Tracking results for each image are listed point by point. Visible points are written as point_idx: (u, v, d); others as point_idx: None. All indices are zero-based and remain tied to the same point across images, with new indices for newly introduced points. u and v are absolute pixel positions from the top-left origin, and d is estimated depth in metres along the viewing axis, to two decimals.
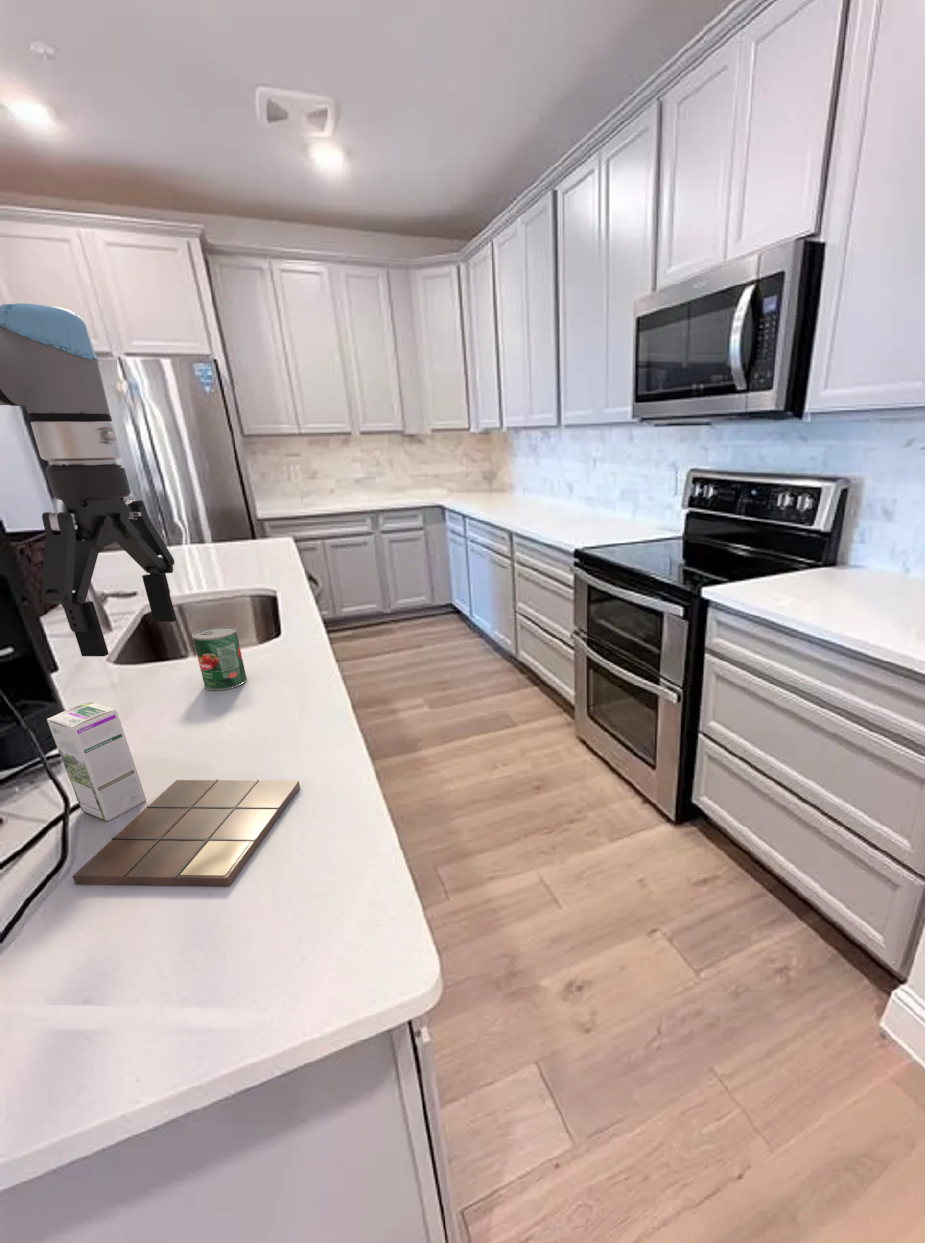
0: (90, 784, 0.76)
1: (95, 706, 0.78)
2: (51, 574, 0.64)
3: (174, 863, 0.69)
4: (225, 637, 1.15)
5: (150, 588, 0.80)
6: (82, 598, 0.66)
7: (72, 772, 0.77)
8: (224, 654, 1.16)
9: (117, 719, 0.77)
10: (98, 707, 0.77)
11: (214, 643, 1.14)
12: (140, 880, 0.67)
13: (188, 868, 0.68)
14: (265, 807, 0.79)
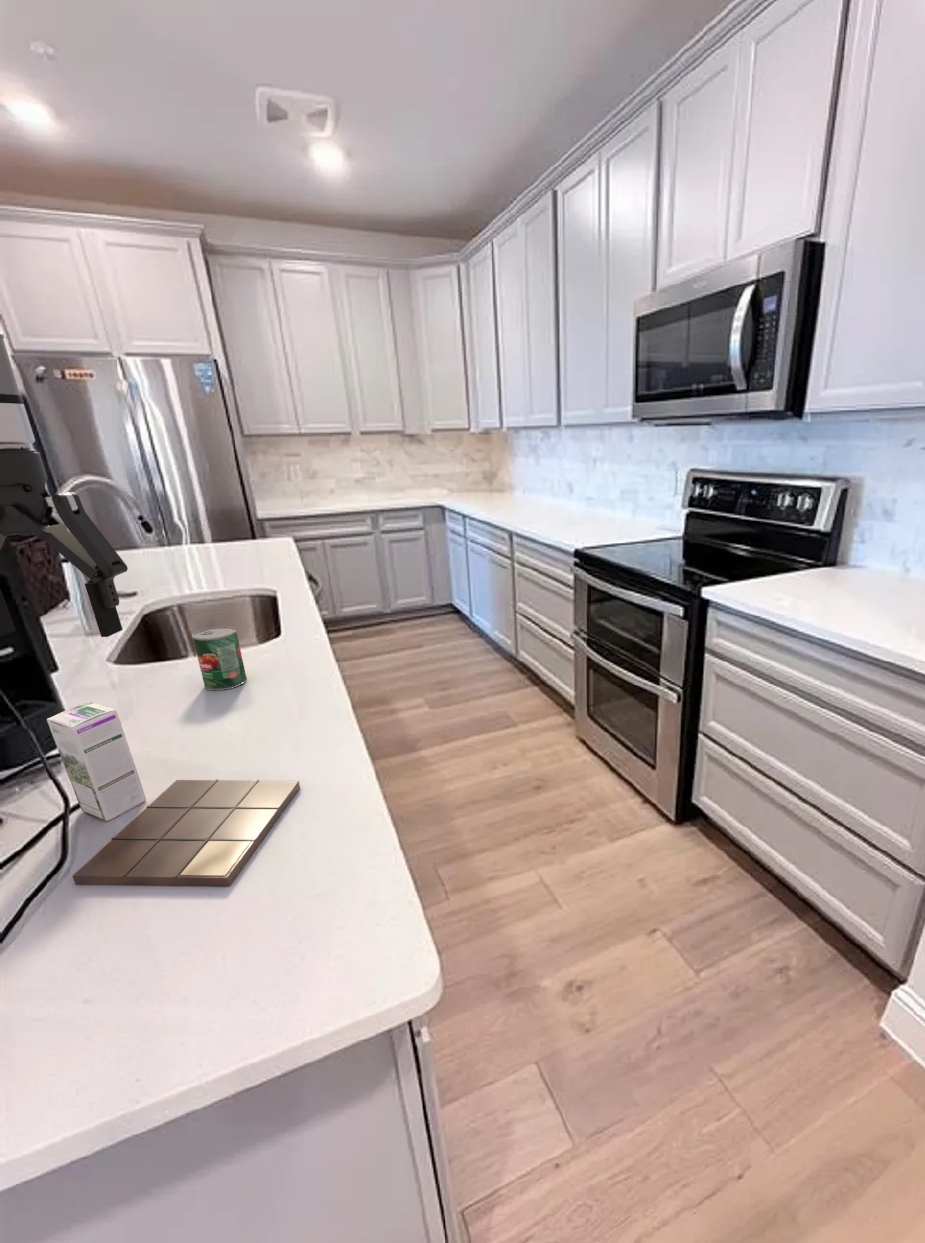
0: (90, 784, 0.76)
1: (95, 706, 0.78)
2: (103, 549, 0.67)
3: (174, 863, 0.69)
4: (225, 637, 1.15)
5: None
6: None
7: (72, 772, 0.77)
8: (224, 654, 1.16)
9: (117, 719, 0.77)
10: (98, 707, 0.77)
11: (213, 643, 1.14)
12: (140, 880, 0.67)
13: (188, 868, 0.68)
14: (265, 807, 0.79)
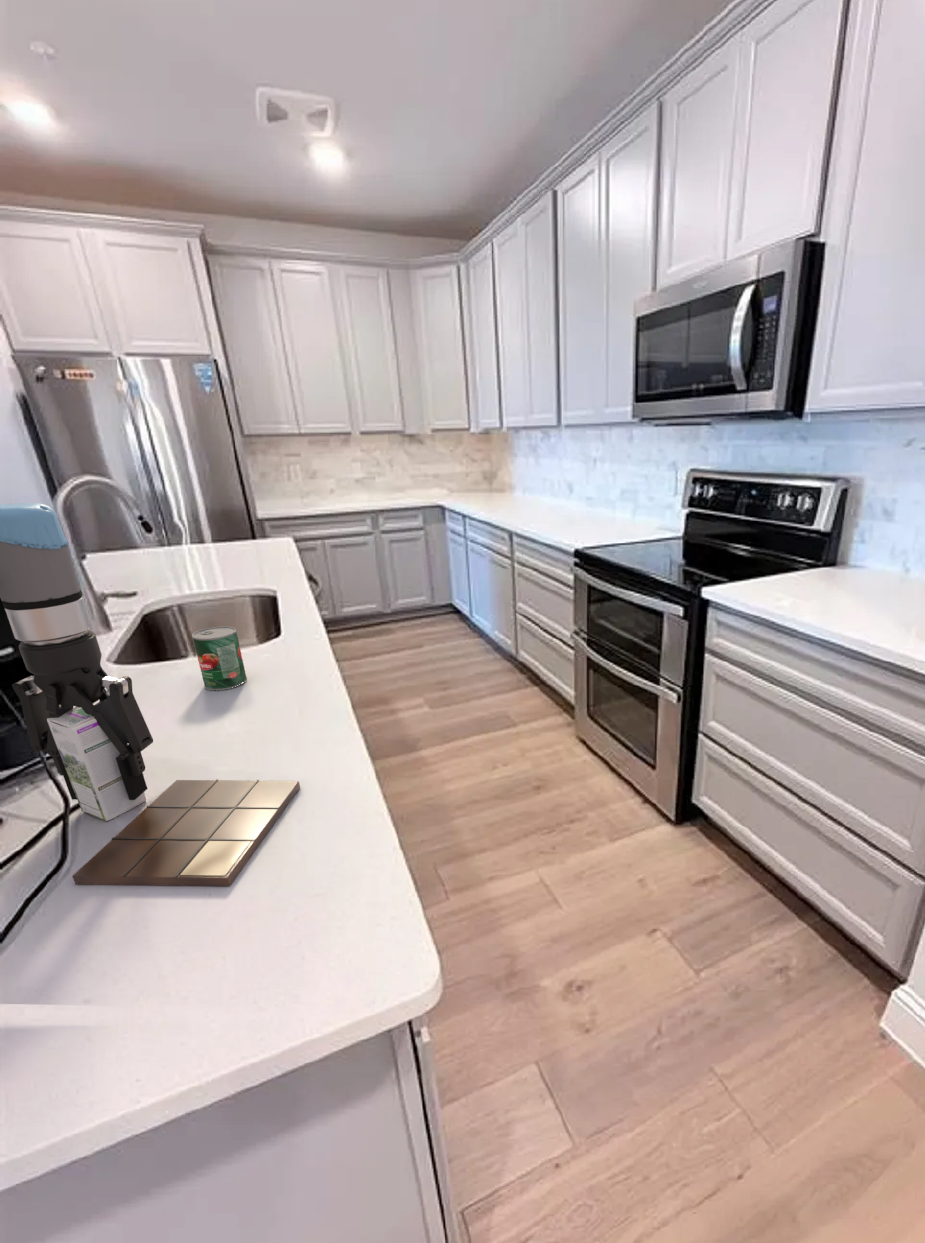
0: (90, 784, 0.76)
1: None
2: (139, 728, 0.76)
3: (174, 863, 0.69)
4: (225, 637, 1.15)
5: None
6: None
7: (72, 772, 0.77)
8: (224, 654, 1.16)
9: None
10: None
11: (213, 643, 1.14)
12: (140, 880, 0.67)
13: (188, 868, 0.68)
14: (265, 807, 0.79)
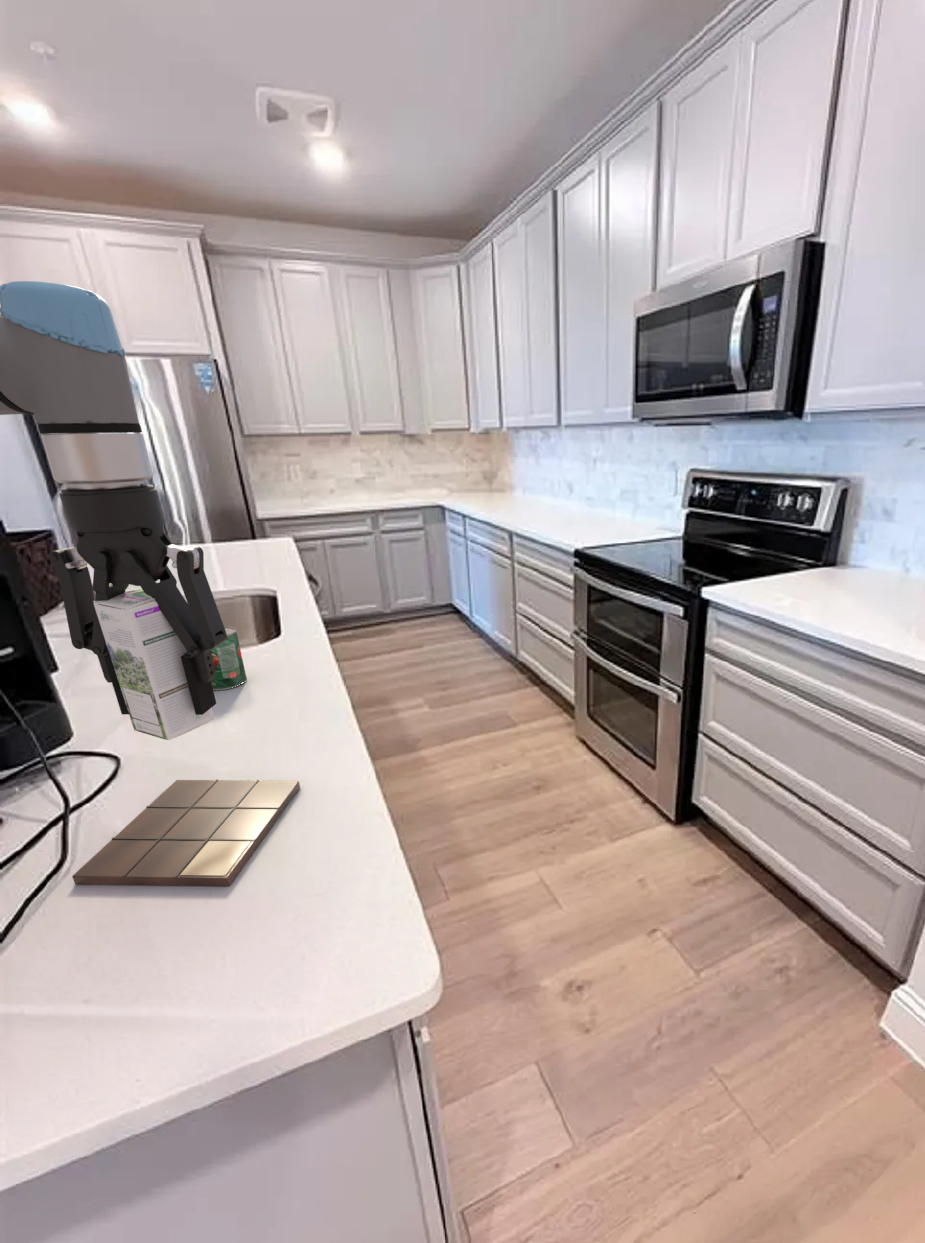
0: (149, 688, 0.58)
1: None
2: (211, 617, 0.59)
3: (174, 863, 0.69)
4: None
5: None
6: None
7: (124, 675, 0.59)
8: (224, 654, 1.16)
9: None
10: None
11: None
12: (140, 880, 0.67)
13: (188, 868, 0.68)
14: (265, 807, 0.79)
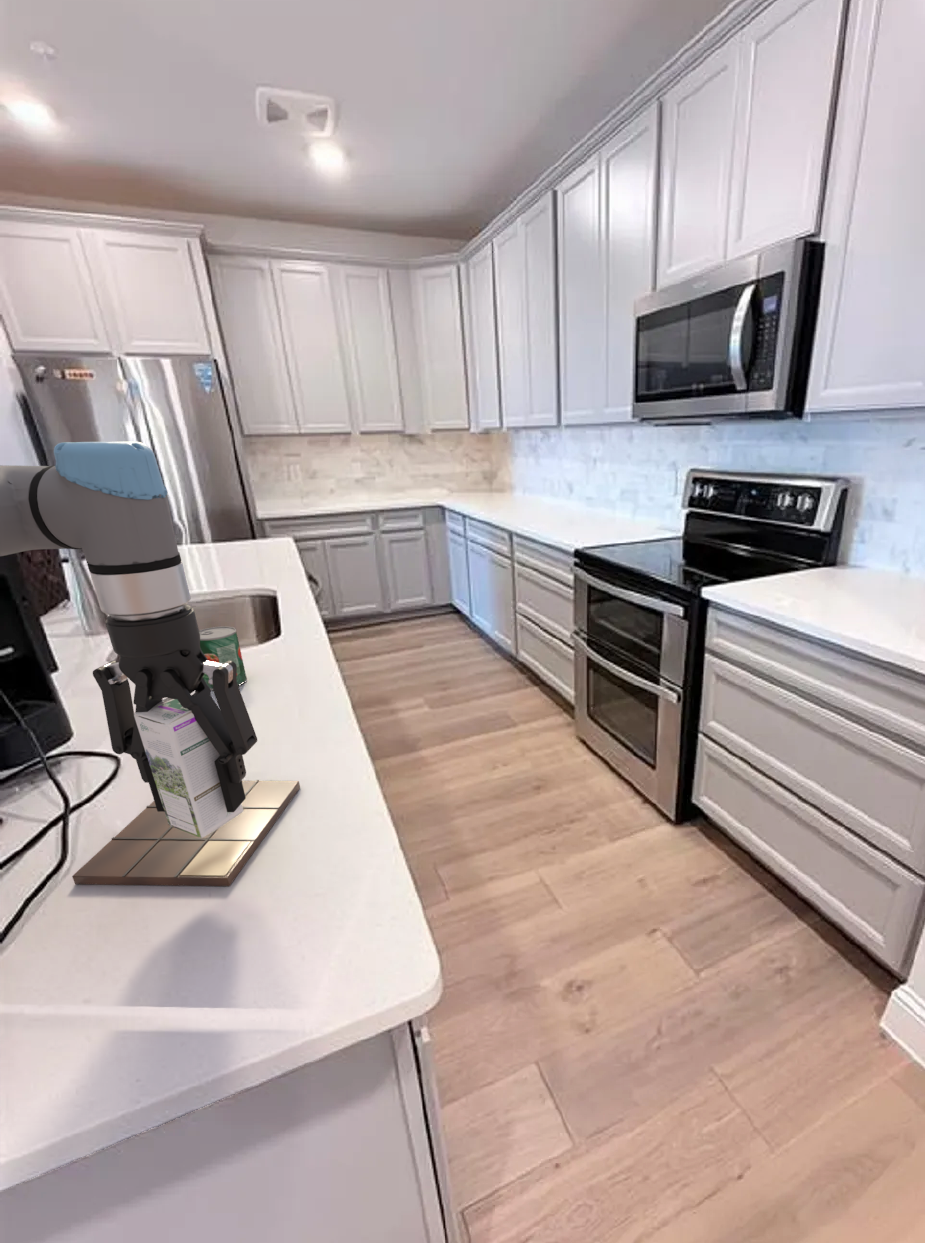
0: (185, 793, 0.62)
1: None
2: (243, 725, 0.62)
3: (174, 863, 0.69)
4: (225, 637, 1.15)
5: None
6: None
7: (162, 778, 0.63)
8: (224, 654, 1.16)
9: None
10: None
11: (213, 643, 1.14)
12: (140, 880, 0.67)
13: (188, 868, 0.68)
14: (265, 807, 0.79)
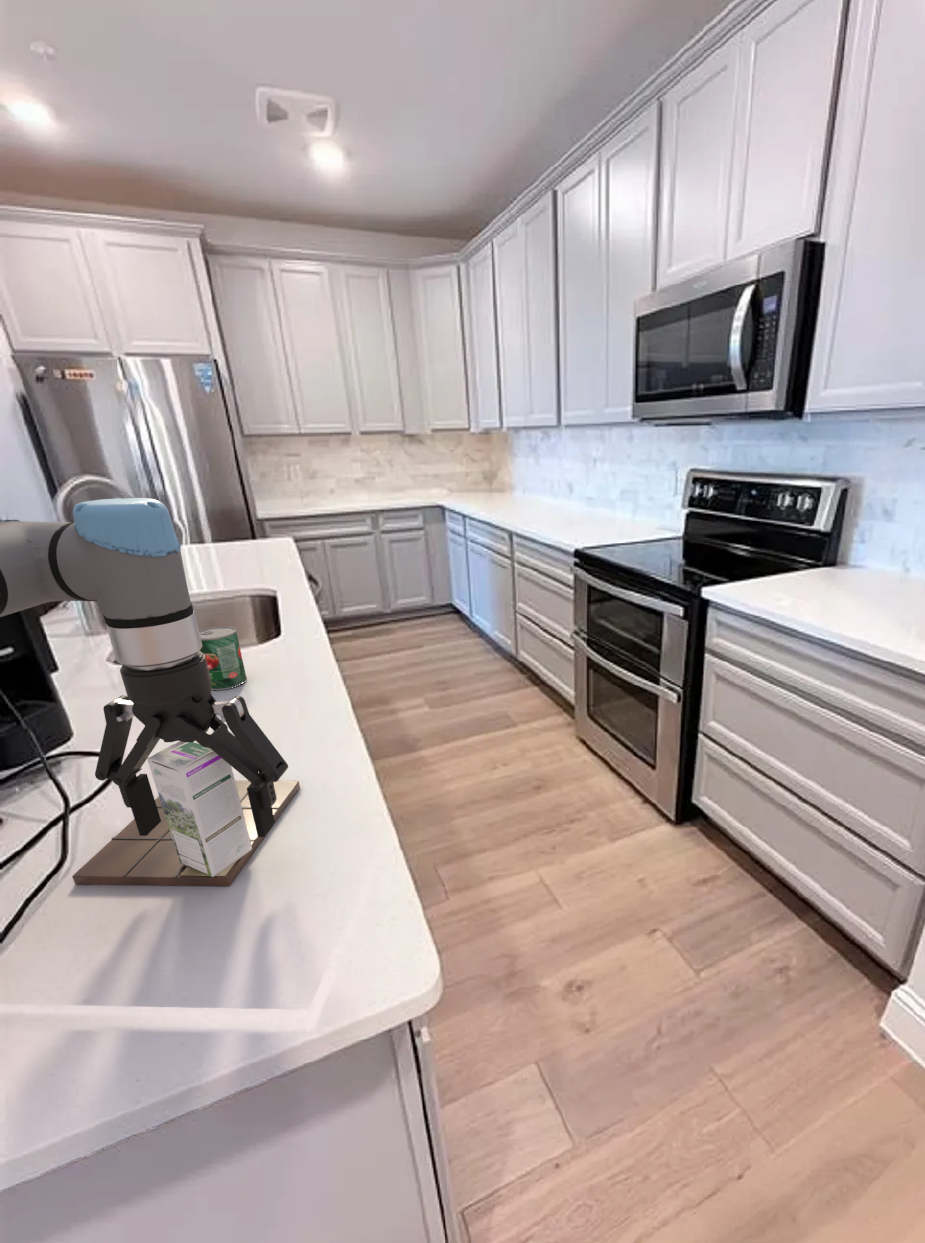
0: (197, 835, 0.64)
1: None
2: (268, 753, 0.64)
3: (174, 863, 0.69)
4: (225, 637, 1.15)
5: (139, 797, 0.66)
6: None
7: (174, 820, 0.65)
8: (224, 654, 1.16)
9: None
10: None
11: (213, 643, 1.14)
12: (140, 880, 0.67)
13: (188, 868, 0.68)
14: None
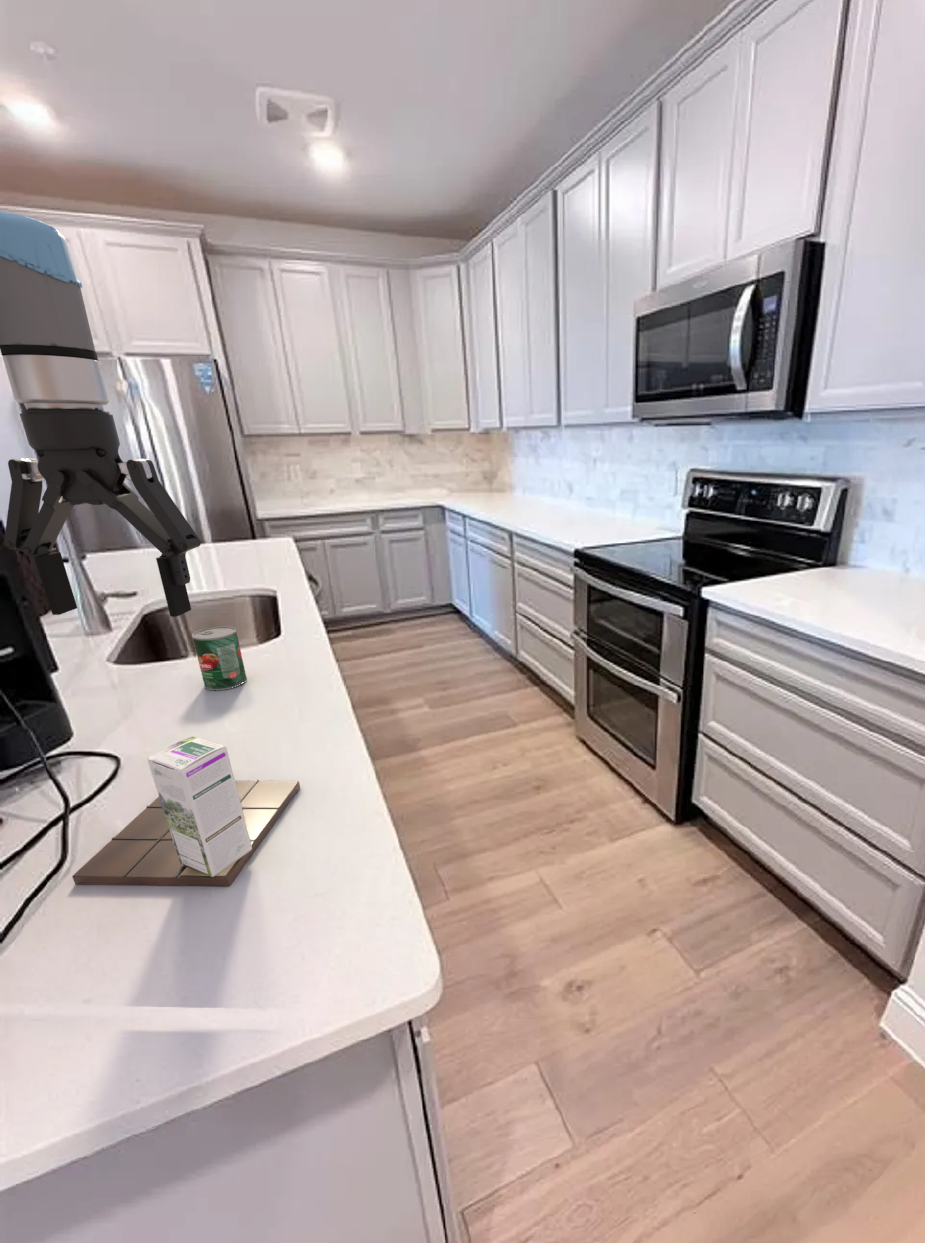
0: (197, 835, 0.64)
1: (199, 742, 0.66)
2: (178, 521, 0.63)
3: (174, 863, 0.69)
4: (225, 637, 1.15)
5: (51, 572, 0.65)
6: None
7: (174, 820, 0.65)
8: (224, 654, 1.16)
9: (226, 757, 0.65)
10: (204, 743, 0.66)
11: (213, 643, 1.14)
12: (140, 880, 0.67)
13: (188, 868, 0.68)
14: (265, 807, 0.79)
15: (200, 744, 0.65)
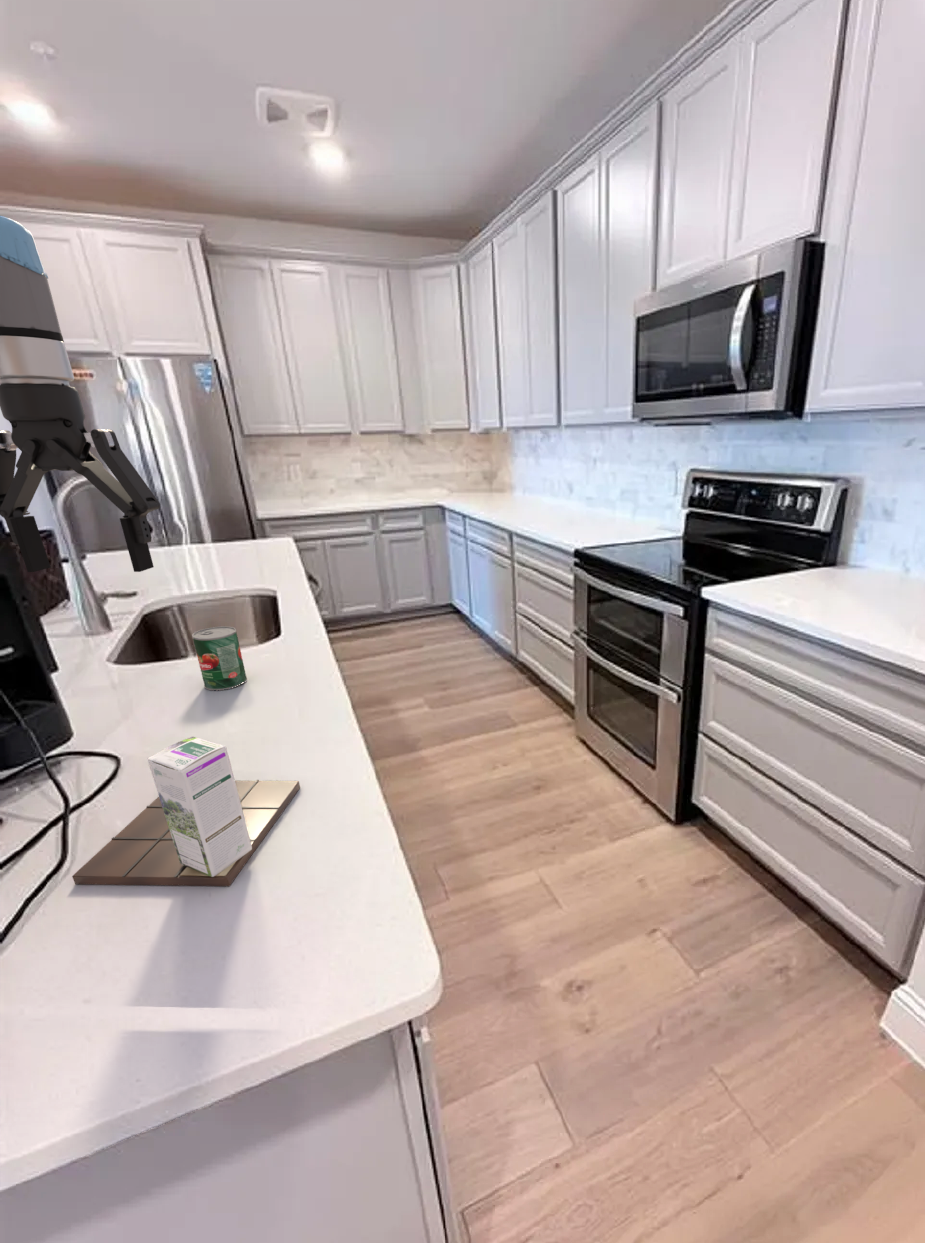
0: (197, 835, 0.64)
1: (199, 742, 0.66)
2: (138, 485, 0.70)
3: (174, 863, 0.69)
4: (225, 637, 1.15)
5: (25, 533, 0.73)
6: None
7: (174, 820, 0.65)
8: (224, 654, 1.16)
9: (226, 757, 0.65)
10: (204, 743, 0.66)
11: (213, 643, 1.14)
12: (140, 880, 0.67)
13: (188, 868, 0.68)
14: (265, 807, 0.79)
15: (200, 744, 0.65)
